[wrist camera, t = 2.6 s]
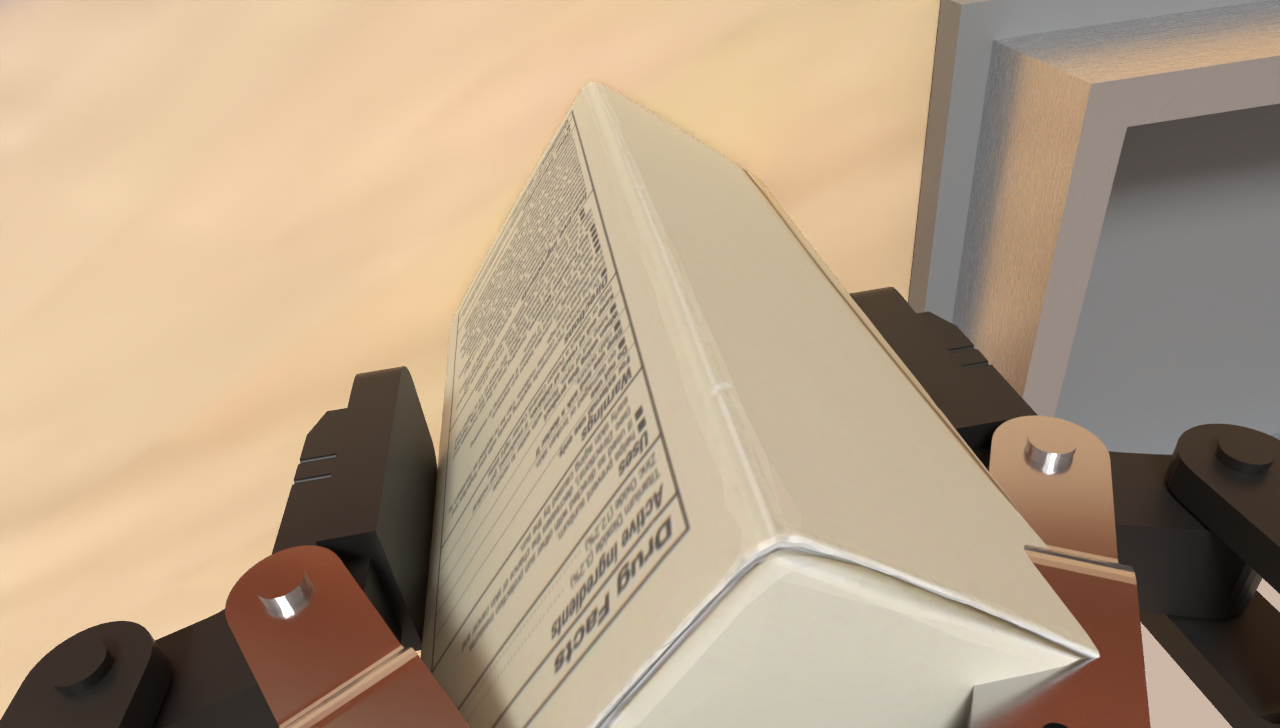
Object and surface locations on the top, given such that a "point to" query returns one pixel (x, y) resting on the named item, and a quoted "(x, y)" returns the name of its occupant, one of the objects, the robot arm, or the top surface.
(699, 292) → the skincare box
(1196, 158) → the slate base plate
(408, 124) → the top surface
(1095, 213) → the shallow grey tray
